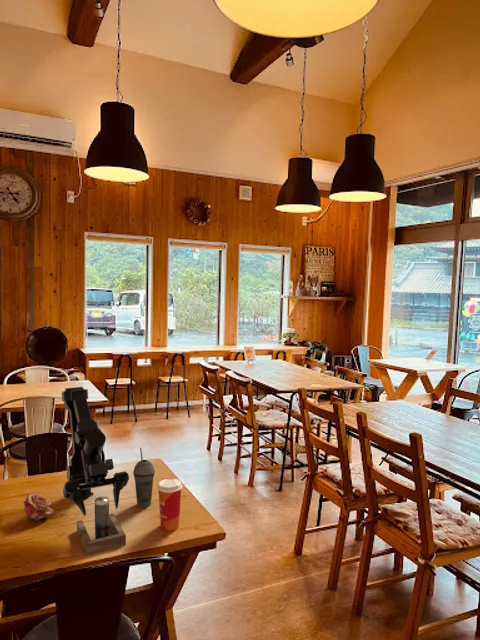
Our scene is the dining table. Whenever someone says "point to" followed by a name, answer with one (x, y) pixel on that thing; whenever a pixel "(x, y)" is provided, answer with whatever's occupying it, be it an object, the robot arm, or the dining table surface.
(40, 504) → the flower
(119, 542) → the frame
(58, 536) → the dining table surface
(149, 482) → the beverage cup
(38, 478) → the dining table surface
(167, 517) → the paper cup
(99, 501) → the pepper mill
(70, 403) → the robot arm
